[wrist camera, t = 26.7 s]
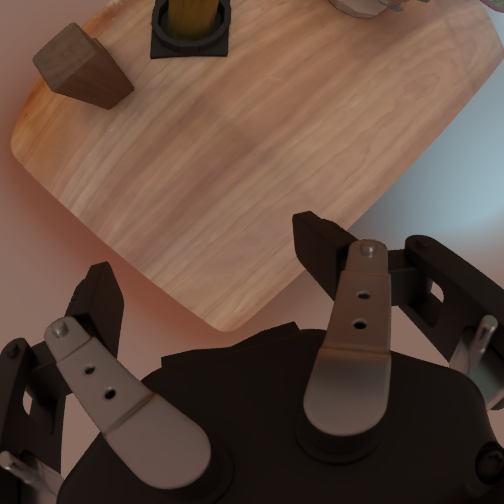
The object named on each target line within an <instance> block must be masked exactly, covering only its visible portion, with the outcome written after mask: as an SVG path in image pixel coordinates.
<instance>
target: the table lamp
mask: <svg viewBox="0 0 504 504" xmlns="http://www.w3.org/2000/svg"><path fill="white" fill-rule="evenodd" d="M329 1H330V2H331V3H332V4H333V5H334V6H335V7H336V8H337V9H338V10H340V11H343V12H345V13H347V14H349V15H351V16H353V17H359V18H367V19H369V18H371V17H373V16H376V15H377V14H379V13H380V12H382V11H383V10H385V9H386V8H388V7H389V8H390V9H392V10H393V11H396V12H397V11H402V10H403V9H402V8H400V7H399V6H400V4H401V3H402V2H407V1H409V0H329ZM418 1H422V2H425V3H427V2H429V1H430V0H418ZM480 1H481V2H483V3H484V4H485V5H487V6H488V7H490V8H491V9H493V10H495V11H498V12H503V13H504V0H480ZM388 2H390V3H392V4H396V3H398V5H390V6H388Z"/></svg>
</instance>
